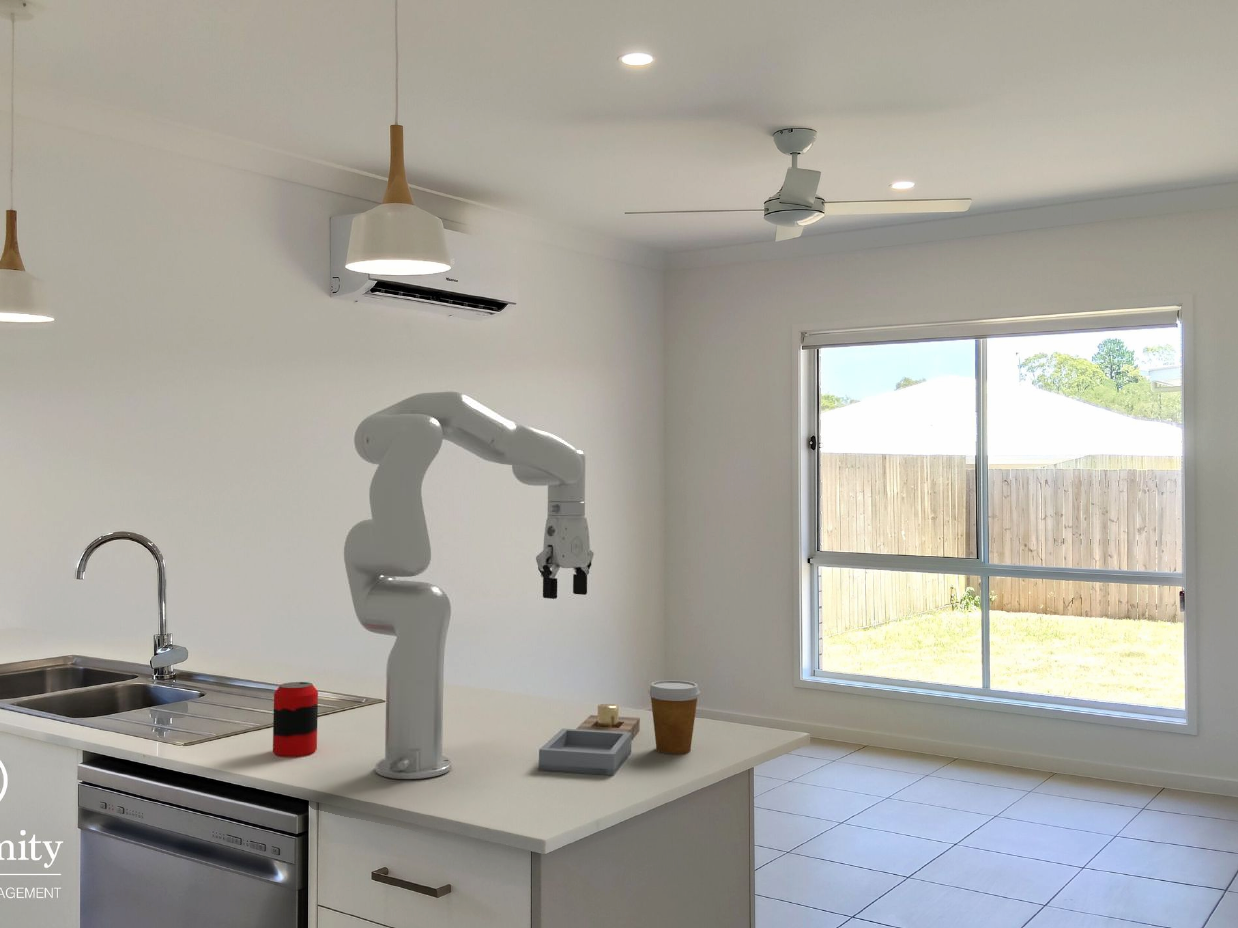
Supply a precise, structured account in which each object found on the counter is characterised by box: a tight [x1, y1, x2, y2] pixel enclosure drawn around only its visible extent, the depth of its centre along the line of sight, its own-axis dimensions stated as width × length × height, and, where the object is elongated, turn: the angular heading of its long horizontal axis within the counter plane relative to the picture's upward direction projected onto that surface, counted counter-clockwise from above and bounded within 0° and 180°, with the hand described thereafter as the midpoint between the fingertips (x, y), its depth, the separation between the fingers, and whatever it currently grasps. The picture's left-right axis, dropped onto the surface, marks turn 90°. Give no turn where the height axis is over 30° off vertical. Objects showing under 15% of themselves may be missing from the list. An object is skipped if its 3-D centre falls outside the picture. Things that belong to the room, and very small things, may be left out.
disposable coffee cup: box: [647, 679, 701, 755], centre depth 192 cm, size 10×10×12 cm
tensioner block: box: [575, 714, 641, 741], centre depth 201 cm, size 14×10×2 cm
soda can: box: [272, 681, 319, 758], centre depth 187 cm, size 8×8×12 cm
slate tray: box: [538, 728, 633, 776], centre depth 183 cm, size 16×13×4 cm
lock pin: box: [597, 703, 619, 728], centre depth 201 cm, size 4×4×6 cm
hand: (565, 596), depth 209 cm, fingers open, 9 cm apart
